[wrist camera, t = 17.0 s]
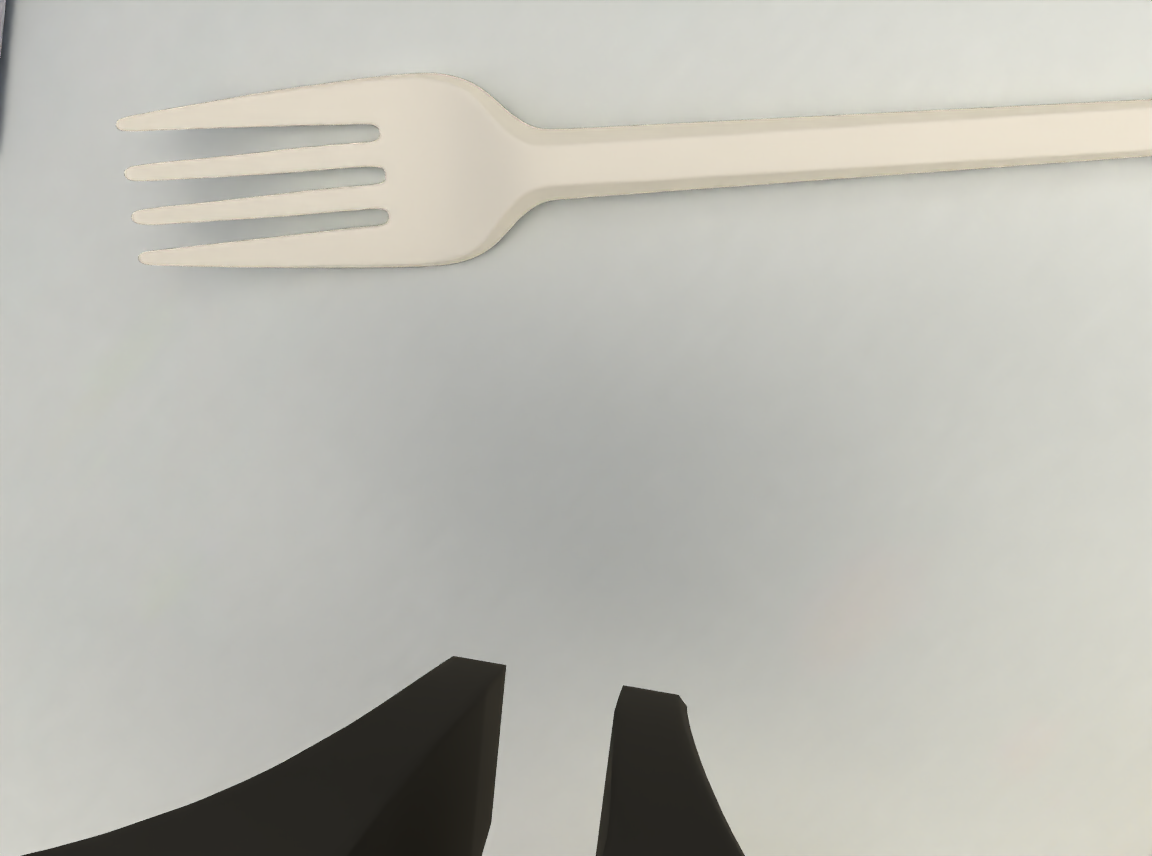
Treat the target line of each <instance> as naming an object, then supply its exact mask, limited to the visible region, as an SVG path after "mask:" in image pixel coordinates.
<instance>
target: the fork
mask: <svg viewBox="0 0 1152 856" xmlns="http://www.w3.org/2000/svg"><path fill="white" fill-rule="evenodd" d="M352 124H371V125H374V126H376V127H377V128H378V129H379V132H380V135H379V138H378V139H377V140H375V141H371V142H362V143H347V144H335V145H324V146H312V147H302V148H292V149H283V150H275V151H267V152H259V153H250V154H241V155H231V156H221V157H211V158H201V159H191V160H180V161H170V162H160V163H152V164H144V165H137V166H132V167H129V168H127V169H126V170H125V171H124V176H125V177H126V178H127V179H129V180H132V181H157V180H175V179H194V178H213V177H231V176H246V175H262V174H277V173H291V172H304V171H316V170H328V169H340V168H354V167H379V168H382V169H383V170H384V172H385V180H384V181H383V182H381V183H378V184H370V185H360V186H348V187H337V188H327V189H317V190H308V191H299V192H291V193H282V194H274V195H265V196H257V197H249V198H239V199H230V200H221V201H213V202H204V203H194V204H184V205H173V206H164V207H157V208H149V209H142V210H138V211H135V212H134V213H133V214H132V215H131V218H132V220H133V221H134V222H135V223H137V224H142V225H161V224H176V223H191V222H207V221H223V220H237V219H251V218H265V217H282V216H296V215H307V214H317V213H328V212H340V211H352V210H364V209H383V210H385V211H386V212H387V213H388V216H389V218H388V221H387V222H386V223H385V224H382V225H374V226H364V227H354V228H345V229H336V230H328V231H320V232H312V233H303V234H294V235H286V236H277V237H268V238H259V239H250V240H241V241H233V242H224V243H216V244H207V245H198V246H189V247H180V248H171V249H162V250H153V251H147V252H143V253H141V254H140V255H139V256H138V260H139V261H140V262H141V263H143V264H147V265H161V266H197V267H264V268H387V267H421V266H438V265H447V264H453V263H458V262H462V261H466V260H469V259H472V258H474V257H476V256H479V255H481V254H482V253H484V252H486V251H487V250H489V249H490V248H492V247H493V246H494V245H495V244H496V243H498V242H499V241H500V240H501V239H502V238H503V236H504V235H505V234H506V233H507V232H508V231H509V230H510V229H511V227H512V226H513V225H514V224H515V223H516V222H517V221H518V220H519V219H520V218H521V217H522V216H523V215H524V214H525V213H527V212H528V211H529V210H531V209H532V208H534V207H535V206H537V205H539V204H541V203H544V202H547V201H551V200H560V199H572V198H584V197H598V196H611V195H625V194H638V193H652V192H666V191H679V190H693V189H707V188H721V187H734V186H748V185H762V184H775V183H789V182H803V181H816V180H830V179H844V178H858V177H871V176H885V175H899V174H912V173H926V172H940V171H953V170H967V169H981V168H995V167H1008V166H1022V165H1036V164H1050V163H1063V162H1077V161H1091V160H1105V159H1118V158H1132V157H1146V156H1152V99H1146V100H1126V101H1107V102H1087V103H1067V104H1048V105H1028V106H1008V107H988V108H969V109H949V110H929V111H909V112H890V113H870V114H850V115H830V116H811V117H791V118H771V119H751V120H732V121H712V122H692V123H672V124H652V125H633V126H613V127H592V128H571V129H541V128H536V127H533V126H531V125H528V124H526V123H524V122H523V121H521V120H519V119H518V118H516V117H515V116H514V115H512V114H511V113H510V112H509V111H507V110H506V109H505V108H504V107H503V106H502V105H501V104H500V103H498V102H497V101H496V100H495V99H494V98H493V97H492V96H491V95H489V94H488V93H487V92H486V91H484V90H483V89H481V88H480V87H478V86H477V85H475V84H473V83H471V82H469V81H467V80H464V79H461V78H458V77H455V76H451V75H445V74H437V73H412V74H399V75H389V76H379V77H370V78H361V79H353V80H345V81H338V82H331V83H324V84H317V85H310V86H302V87H295V88H288V89H281V90H275V91H268V92H262V93H256V94H250V95H245V96H239V97H233V98H228V99H222V100H216V101H211V102H205V103H199V104H193V105H188V106H182V107H176V108H170V109H164V110H159V111H153V112H148V113H143V114H138V115H133V116H128V117H124V118H121V119H119V120H118V121H117V122H116V127H117V128H118V129H119V130H121V131H153V130H178V129H207V128H239V127H269V126H312V125H352Z"/></svg>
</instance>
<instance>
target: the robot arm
mask: <svg viewBox="0 0 1152 856" xmlns="http://www.w3.org/2000/svg"><path fill="white" fill-rule="evenodd" d="M5 6H6V0H0V56H1V46H2V36H3V26H4V16H5ZM505 672H506V665H502V664H496V663H490V662H485V661H479V660H473V659H467V658H461V657H456V656H453V657H451V658H450V659H448V660H446V661H445V662H443V663H442V664H440V665H439V666H437V667H436V668H434V669H433V670H431V671H430V672H428V673H427V674H425V675H424V676H422V677H421V678H419V679H418V680H416V681H415V682H413V683H412V684H411V685H409V686H408V687H406V688H405V689H403V690H402V691H400V692H399V693H397V694H396V695H394V696H393V697H391V698H390V699H388V700H387V701H385V702H384V703H382V704H381V705H379V706H378V707H376V708H375V709H373V710H372V711H370V712H368V713H367V714H365V715H364V716H362V717H361V718H359V719H358V720H356V721H354V722H353V723H351V724H350V725H348V726H346V727H345V728H343V729H341V730H339V731H338V732H336V733H334V734H332V735H331V736H329V737H327V738H325V739H323V740H322V741H320V742H318V743H316V744H315V745H313V746H311V747H309V748H308V749H306V750H304V751H302V752H300V753H299V754H297V755H295V756H293V757H292V758H290V759H288V760H286V761H285V762H283V763H281V764H279V765H277V766H275V767H273V768H271V769H269V770H267V771H265V772H263V773H261V774H258V775H256V776H254V777H252V778H250V779H248V780H246V781H244V782H241V783H239V784H237V785H234V786H232V787H230V788H228V789H225V790H223V791H221V792H218V793H216V794H214V795H211V796H209V797H207V798H204V799H202V800H199V801H197V802H194V803H192V804H189V805H187V806H184V807H181V808H178V809H175V810H172V811H169V812H166V813H164V814H161V815H158V816H155V817H152V818H149V819H146V820H143V821H140V822H137V823H135V824H132V825H129V826H126V827H123V828H120V829H117V830H114V831H111V832H108V833H105V834H102V835H98V836H95V837H91V838H88V839H84V840H81V841H77V842H73V843H70V844H66V845H62V846H59V847H55V848H51V849H47V850H43V851H39V852H35V853H30V854H26V855H22V856H482V852H483V849H484V846H485V842H486V839H487V835H488V832H489V828H490V825H491V819H492V809H493V798H494V788H495V777H496V767H497V756H498V746H499V735H500V725H501V714H502V704H503V693H504V683H505ZM596 856H745V855H744V853H743V852H742V850H741V848H740V846H739V844H738V842H737V840H736V839H735V837H734V835H733V833H732V831H731V829H730V827H729V825H728V823H727V821H726V819H725V817H724V815H723V813H722V811H721V808H720V806H719V804H718V802H717V799H716V797H715V795H714V792H713V790H712V788H711V786H710V783H709V781H708V779H707V776H706V774H705V771H704V769H703V766H702V763H701V761H700V758H699V755H698V752H697V749H696V746H695V743H694V740H693V736H692V733H691V729H690V725H689V720H688V715H687V706H686V705H685V703H684V702H683V701H682V699H681V698H680V696H679V695H676V694H670V693H664V692H658V691H652V690H647V689H641V688H635V687H629V686H624V685H623V687H622V690H621V692H620V695H619V698H618V701H617V705H616V708H615V711H614V719H613V726H612V734H611V742H610V750H609V757H608V765H607V773H606V781H605V789H604V796H603V804H602V812H601V820H600V827H599V835H598V843H597V851H596Z"/></svg>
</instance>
